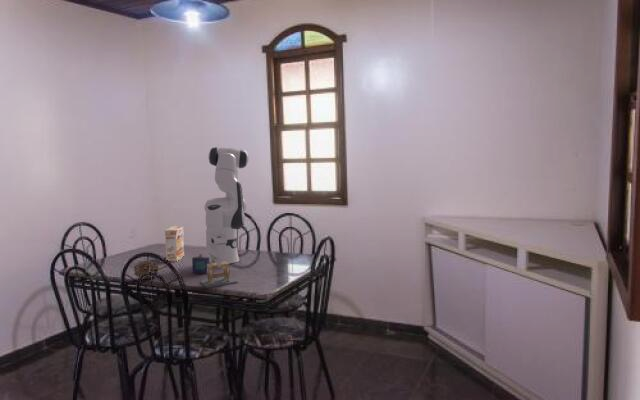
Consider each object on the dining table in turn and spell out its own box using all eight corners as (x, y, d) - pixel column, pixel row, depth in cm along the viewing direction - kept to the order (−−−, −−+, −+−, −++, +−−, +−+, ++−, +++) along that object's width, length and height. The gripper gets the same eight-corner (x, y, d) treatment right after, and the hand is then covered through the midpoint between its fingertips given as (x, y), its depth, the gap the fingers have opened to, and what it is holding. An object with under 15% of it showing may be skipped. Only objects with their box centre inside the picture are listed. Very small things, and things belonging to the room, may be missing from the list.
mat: (229, 277, 246) (229, 276, 246) (237, 282, 236) (237, 281, 236) (199, 282, 237) (199, 280, 237) (206, 287, 228) (206, 286, 228)
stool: (225, 261, 241) (206, 263, 236) (229, 263, 236) (210, 266, 231) (226, 278, 242) (207, 281, 236) (230, 280, 237) (210, 283, 232)
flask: (210, 272, 257) (209, 253, 256) (209, 273, 255) (208, 254, 253) (193, 272, 257) (192, 253, 255) (192, 274, 254) (191, 254, 253)
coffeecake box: (177, 261, 282) (176, 230, 280) (165, 261, 282) (164, 230, 280) (184, 256, 297) (183, 226, 295) (173, 256, 297) (172, 226, 295)
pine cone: (141, 283, 236) (140, 264, 235) (129, 280, 241) (128, 262, 240) (175, 273, 255) (175, 255, 254) (164, 271, 260) (163, 253, 259)
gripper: (202, 234, 241) (203, 261, 243) (215, 241, 224) (216, 269, 225) (214, 233, 244) (215, 259, 246) (228, 240, 227) (229, 267, 228)
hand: (216, 264), depth 235 cm, fingers open, 8 cm apart
